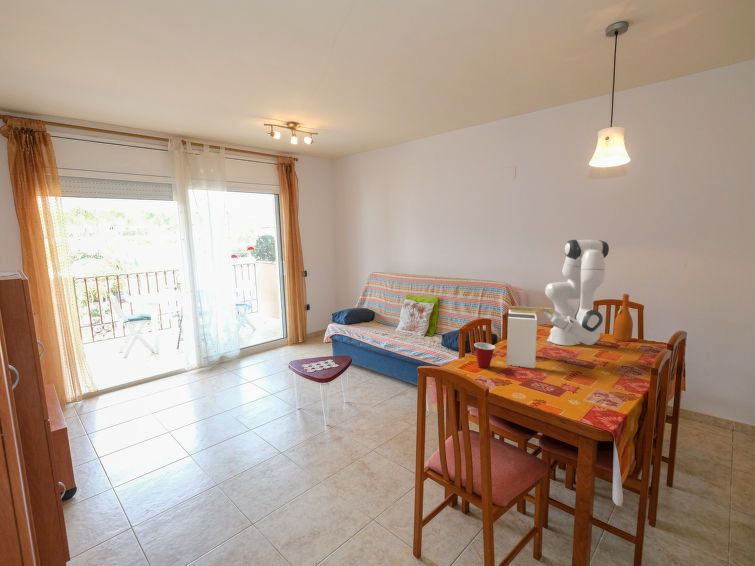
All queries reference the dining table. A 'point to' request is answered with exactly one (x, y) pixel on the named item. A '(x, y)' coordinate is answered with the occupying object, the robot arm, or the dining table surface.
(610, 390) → the dining table surface
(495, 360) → the dining table surface
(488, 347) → the plastic cup
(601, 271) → the robot arm
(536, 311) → the light wood bar
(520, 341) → the white upright block
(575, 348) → the dining table surface
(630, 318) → the wine bottle
